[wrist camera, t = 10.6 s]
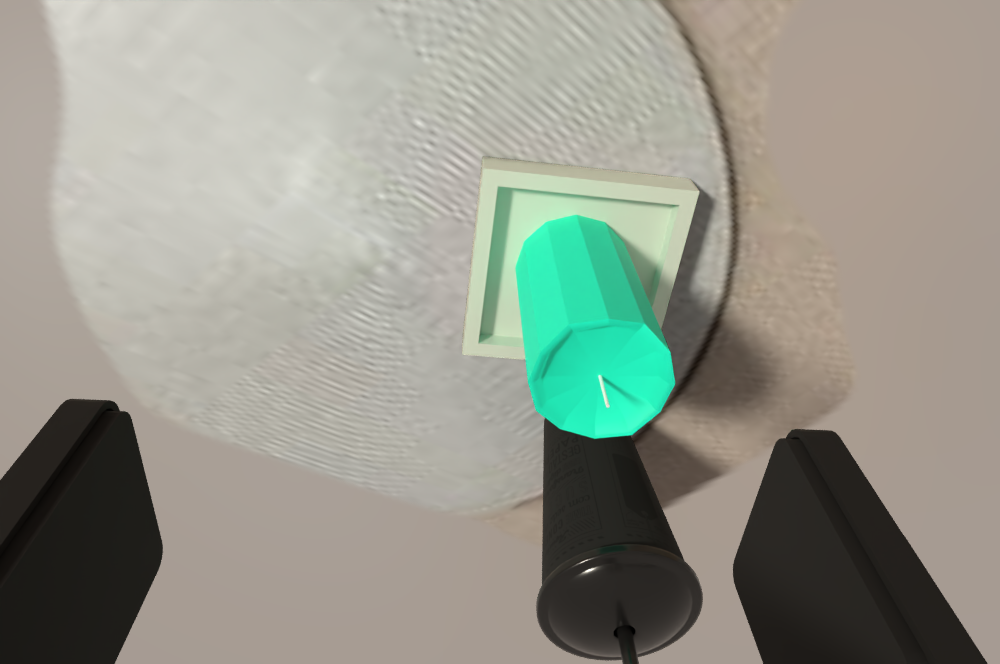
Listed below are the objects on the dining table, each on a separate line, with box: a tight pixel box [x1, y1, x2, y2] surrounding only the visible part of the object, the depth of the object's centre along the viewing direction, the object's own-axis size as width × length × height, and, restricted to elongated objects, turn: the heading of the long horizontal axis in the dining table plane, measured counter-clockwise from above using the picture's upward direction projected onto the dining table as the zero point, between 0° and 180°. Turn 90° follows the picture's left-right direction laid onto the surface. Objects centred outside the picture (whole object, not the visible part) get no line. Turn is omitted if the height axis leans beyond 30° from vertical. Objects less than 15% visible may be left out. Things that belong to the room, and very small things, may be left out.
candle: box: [515, 215, 675, 439], centre depth 33 cm, size 6×6×12 cm
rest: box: [462, 156, 700, 360], centre depth 38 cm, size 11×11×2 cm
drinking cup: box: [536, 418, 703, 664], centre depth 36 cm, size 8×8×20 cm
